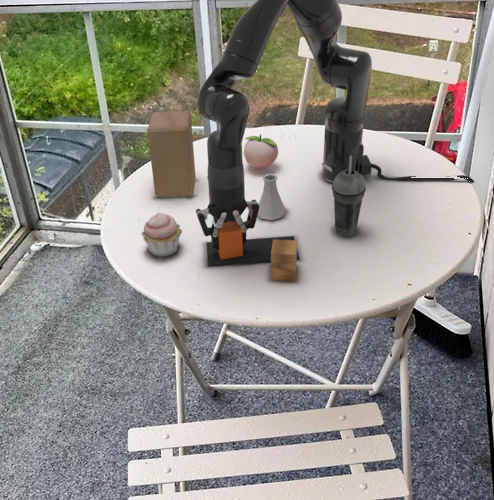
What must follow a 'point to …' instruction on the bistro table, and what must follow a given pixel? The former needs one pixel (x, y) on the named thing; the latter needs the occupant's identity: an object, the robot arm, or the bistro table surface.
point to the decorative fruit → (260, 151)
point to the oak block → (283, 260)
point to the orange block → (230, 240)
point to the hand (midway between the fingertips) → (229, 245)
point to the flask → (270, 200)
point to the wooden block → (172, 153)
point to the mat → (247, 252)
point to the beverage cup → (347, 200)
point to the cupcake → (161, 234)
